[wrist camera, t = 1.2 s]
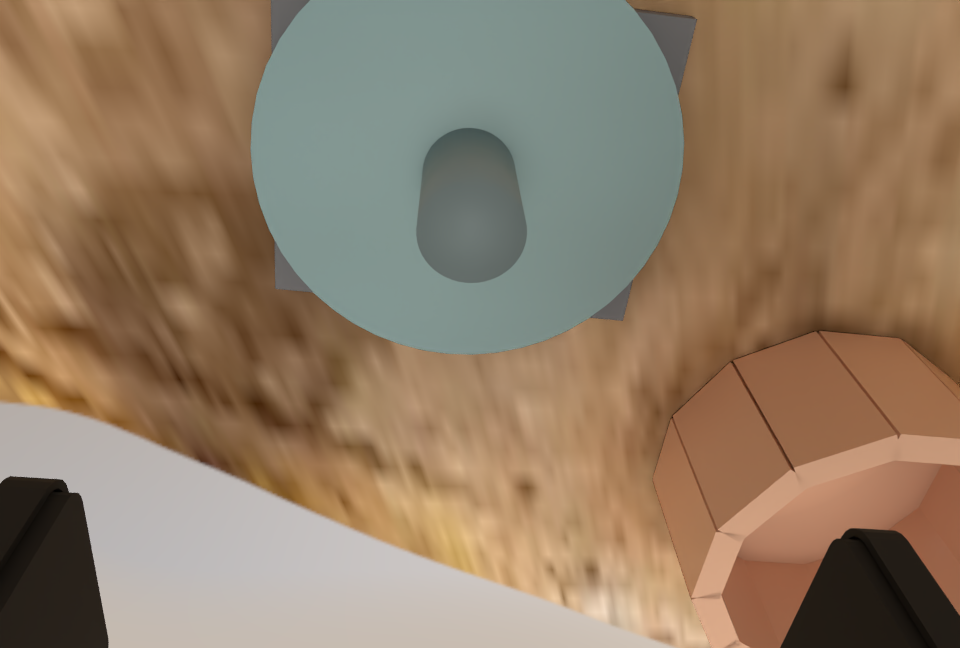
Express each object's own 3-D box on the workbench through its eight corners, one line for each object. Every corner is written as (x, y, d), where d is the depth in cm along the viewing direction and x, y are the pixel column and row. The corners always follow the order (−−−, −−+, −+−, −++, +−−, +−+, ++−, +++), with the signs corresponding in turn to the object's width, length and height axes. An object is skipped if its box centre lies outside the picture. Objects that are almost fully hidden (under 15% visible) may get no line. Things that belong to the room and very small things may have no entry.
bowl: (1012, 348, 29) (1134, 453, 24) (888, 572, 35) (964, 695, 30) (701, 319, 28) (757, 422, 23) (629, 555, 34) (660, 679, 29)
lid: (728, -36, 21) (802, -11, 17) (627, 357, 28) (661, 452, 23) (250, -100, 20) (190, -92, 16) (261, 325, 27) (221, 418, 22)
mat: (691, 16, 23) (697, 19, 22) (619, 312, 28) (622, 320, 27) (274, -37, 22) (270, -35, 21) (278, 280, 27) (275, 288, 26)
